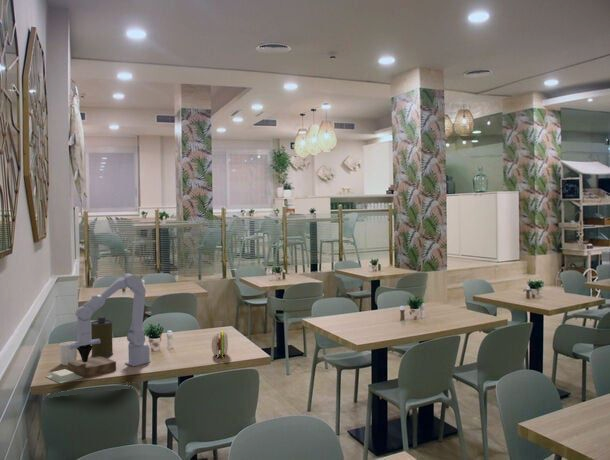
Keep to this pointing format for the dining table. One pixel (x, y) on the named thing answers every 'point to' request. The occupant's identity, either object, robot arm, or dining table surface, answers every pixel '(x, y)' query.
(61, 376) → the card
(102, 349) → the canister
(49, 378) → the mat
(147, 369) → the dining table surface
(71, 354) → the white cup
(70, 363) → the board
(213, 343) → the hamburger
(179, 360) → the dining table surface
